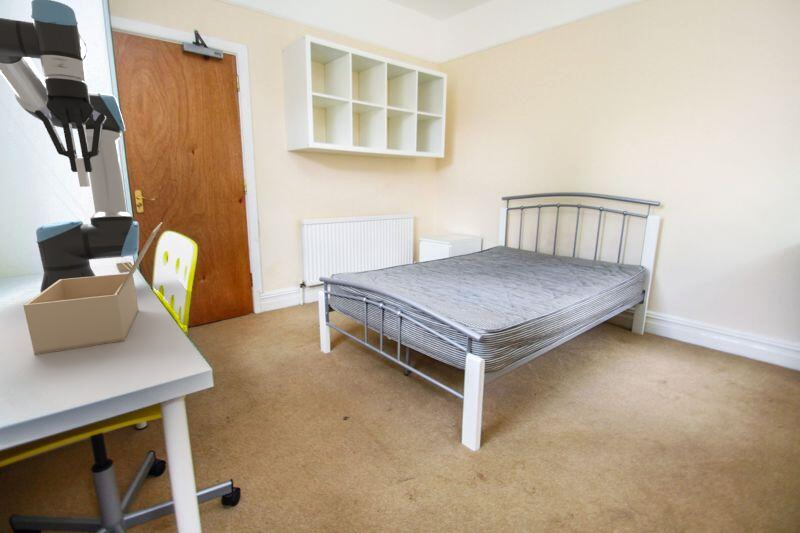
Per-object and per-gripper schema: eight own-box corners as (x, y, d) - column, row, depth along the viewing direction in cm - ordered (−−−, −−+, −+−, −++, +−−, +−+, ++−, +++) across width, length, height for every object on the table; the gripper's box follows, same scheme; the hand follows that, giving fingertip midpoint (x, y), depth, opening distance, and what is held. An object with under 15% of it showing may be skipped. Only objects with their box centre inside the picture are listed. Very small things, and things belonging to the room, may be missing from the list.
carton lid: (161, 221, 110) (162, 222, 110) (132, 272, 109) (134, 272, 109) (152, 231, 89) (154, 232, 89) (116, 294, 88) (118, 294, 88)
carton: (67, 319, 105) (59, 279, 102) (138, 310, 112) (132, 272, 109) (34, 354, 84) (23, 305, 81) (124, 340, 91) (116, 295, 88)
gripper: (22, 73, 83) (45, 187, 88) (98, 80, 89) (115, 186, 94) (33, 80, 89) (54, 186, 95) (103, 86, 95) (119, 185, 101)
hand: (85, 186), depth 95 cm, fingers closed
